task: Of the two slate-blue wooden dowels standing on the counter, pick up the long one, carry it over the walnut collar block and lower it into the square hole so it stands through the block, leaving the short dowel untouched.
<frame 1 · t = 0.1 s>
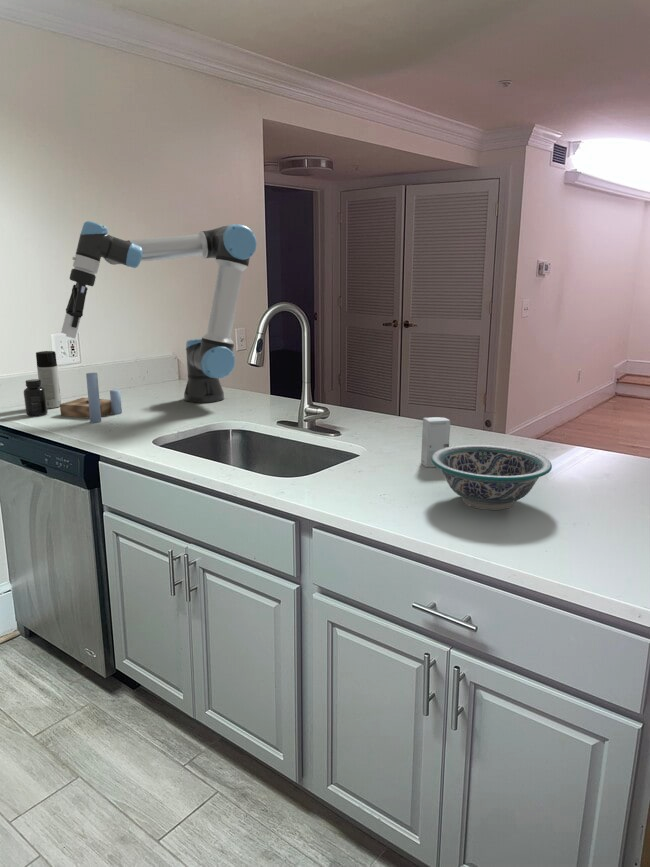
hand: (67, 335, 210), 28 cm above the worktop, tool tilted 20°, fingers open, 13 cm apart
spray can: (51, 407, 237), on the worktop
skincare box: (434, 465, 168), on the worktop
short dowel: (116, 413, 226), on the worktop
long dowel: (95, 421, 214), on the worktop
supplement bottle: (37, 415, 225), on the worktop
collar block: (89, 413, 226), on the worktop
bowl: (487, 502, 142), on the worktop
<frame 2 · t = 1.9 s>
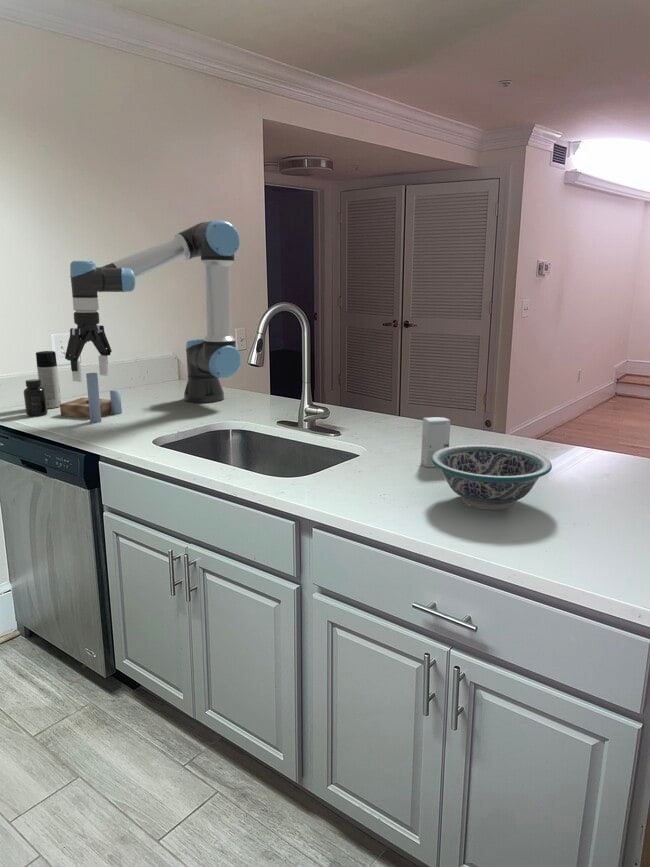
hand: (91, 378, 210), 14 cm above the worktop, tool pointing down, fingers open, 13 cm apart
nothing on the worktop moved.
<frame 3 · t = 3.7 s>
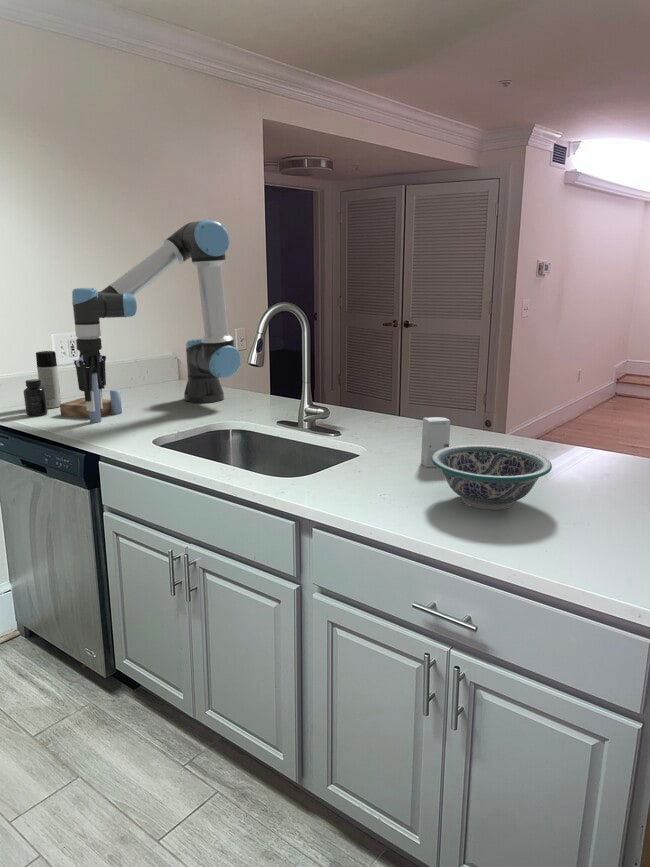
hand: (94, 409, 213), 4 cm above the worktop, tool pointing down, fingers closed on long dowel, 3 cm apart
long dowel: (95, 421, 214), on the worktop, touching gripper
everything else where it was.
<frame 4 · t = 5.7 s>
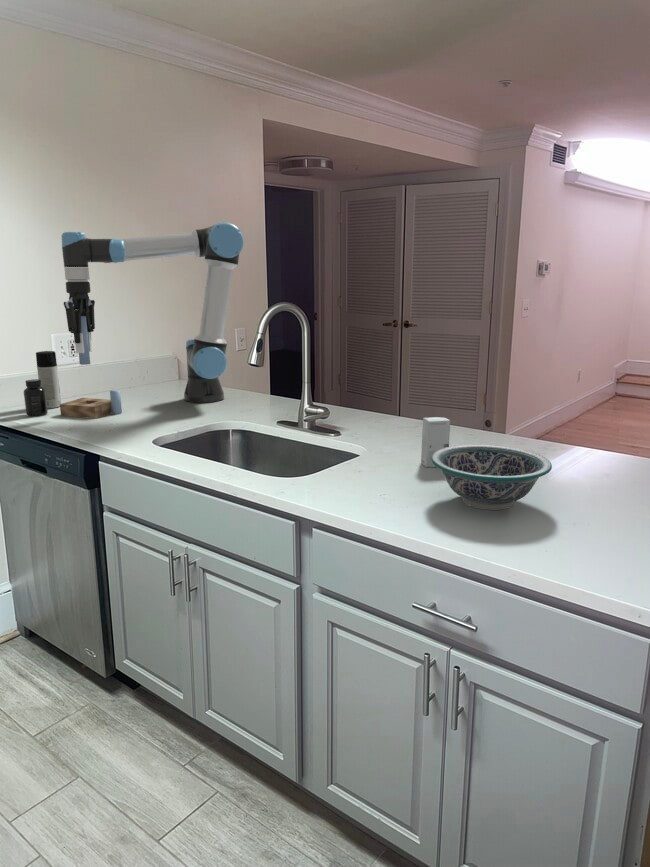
hand: (84, 351, 221), 21 cm above the worktop, tool pointing down, fingers closed on long dowel, 3 cm apart
long dowel: (85, 363, 222), point 17 cm above the worktop, touching gripper
everything else where it was.
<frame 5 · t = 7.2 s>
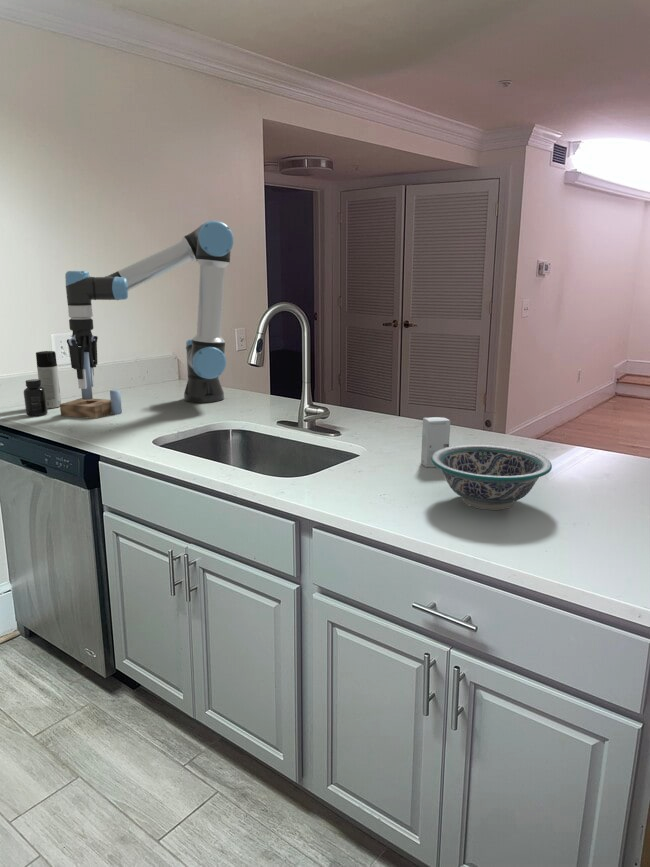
hand: (86, 387, 224), 9 cm above the worktop, tool pointing down, fingers closed on long dowel, 3 cm apart
long dowel: (87, 398, 225), point 5 cm above the worktop, touching gripper
everything else where it was.
when the fingers open (6 cm above the worktop, at t = 8.1 s): long dowel drops 1 cm, resting in collar block.
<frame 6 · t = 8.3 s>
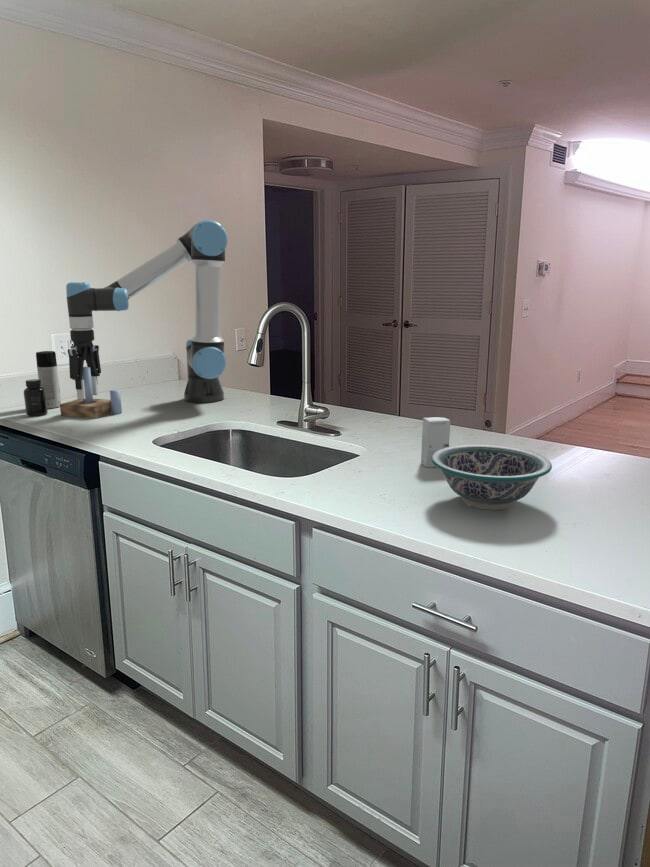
hand: (87, 396, 225), 6 cm above the worktop, tool pointing down, fingers open, 6 cm apart
long dowel: (89, 413, 226), resting in collar block
everything else where it was.
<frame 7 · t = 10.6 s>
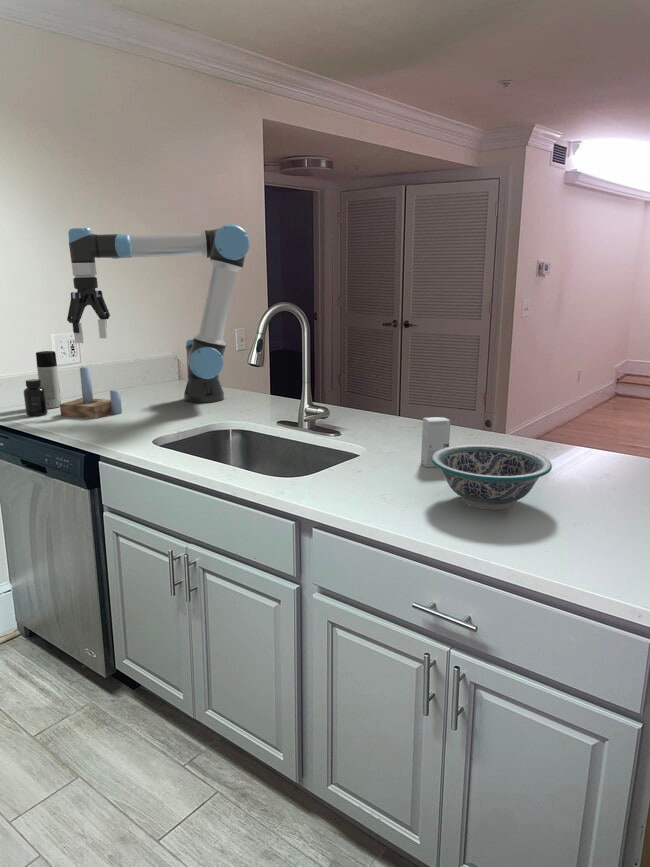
hand: (91, 340, 223), 25 cm above the worktop, tool pointing down, fingers open, 13 cm apart
nothing on the worktop moved.
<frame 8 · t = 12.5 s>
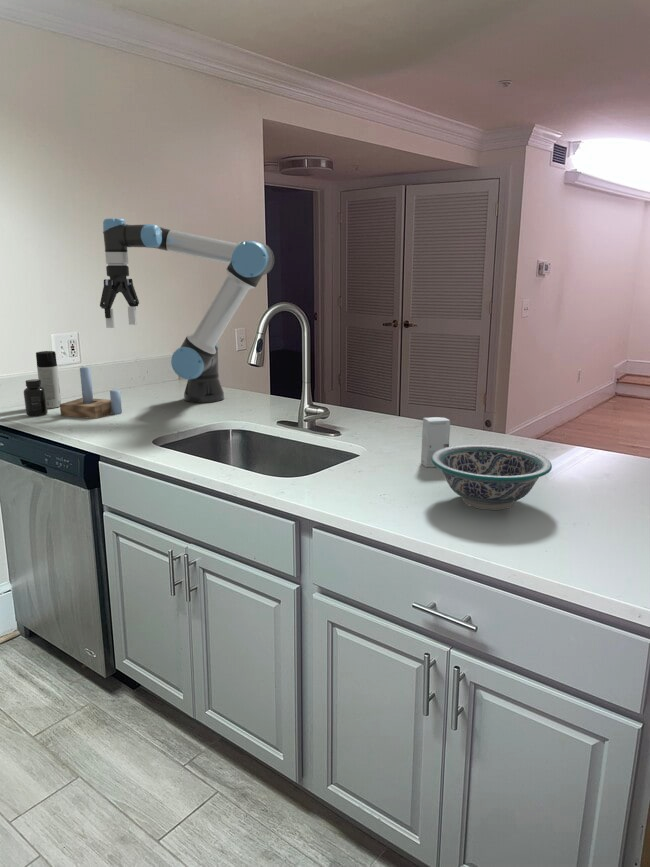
hand: (121, 326, 234), 29 cm above the worktop, tool pointing down, fingers open, 13 cm apart
nothing on the worktop moved.
at the end: long dowel 0.1 cm off-centre on the collar block, point 0.0 cm above the collar block's base; long dowel tilted 0°; the gripper is holding nothing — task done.
